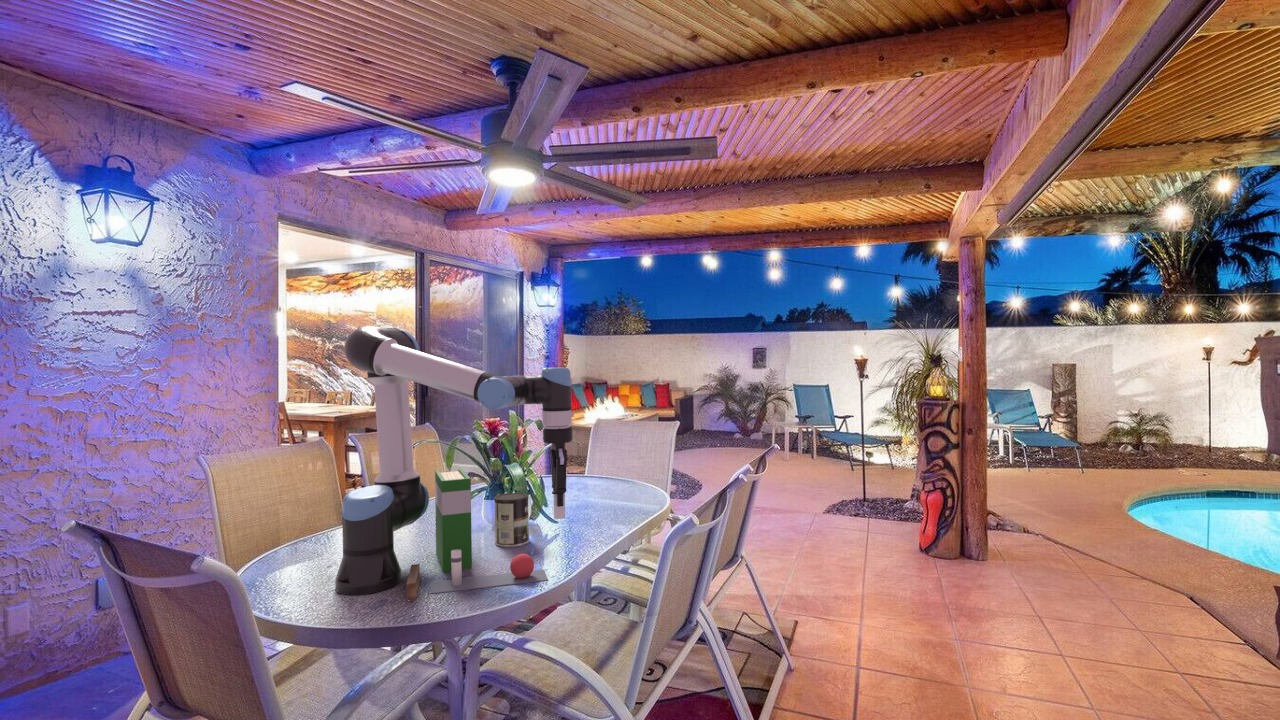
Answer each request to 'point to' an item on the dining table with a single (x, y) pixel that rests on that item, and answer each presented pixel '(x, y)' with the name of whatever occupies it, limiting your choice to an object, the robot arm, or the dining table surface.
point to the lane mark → (486, 582)
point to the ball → (522, 566)
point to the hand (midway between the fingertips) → (559, 517)
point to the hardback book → (453, 517)
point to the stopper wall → (413, 582)
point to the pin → (456, 567)
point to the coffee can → (511, 520)
